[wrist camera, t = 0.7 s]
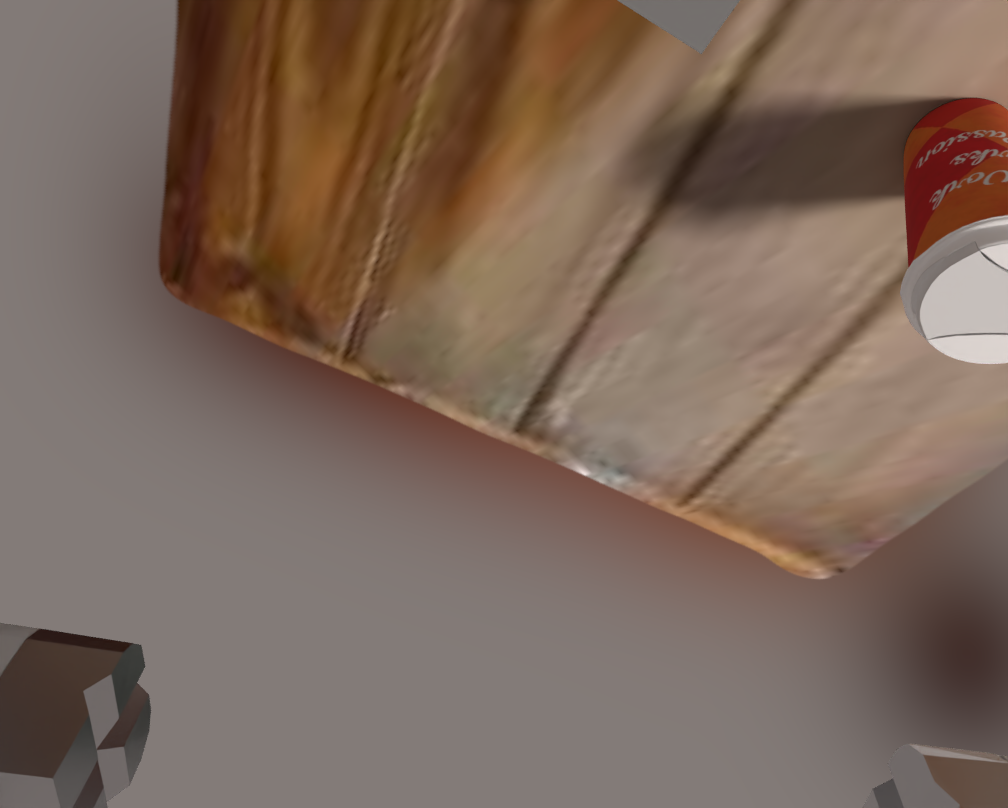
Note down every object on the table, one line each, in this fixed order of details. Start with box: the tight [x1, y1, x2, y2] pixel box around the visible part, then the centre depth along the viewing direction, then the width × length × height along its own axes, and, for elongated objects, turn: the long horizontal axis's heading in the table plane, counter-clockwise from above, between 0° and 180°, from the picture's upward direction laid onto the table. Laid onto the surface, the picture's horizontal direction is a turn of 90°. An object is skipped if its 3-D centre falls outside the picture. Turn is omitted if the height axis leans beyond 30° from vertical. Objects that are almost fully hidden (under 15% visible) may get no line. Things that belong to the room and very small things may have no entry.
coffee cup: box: [900, 98, 1008, 364], centre depth 45 cm, size 8×8×15 cm
